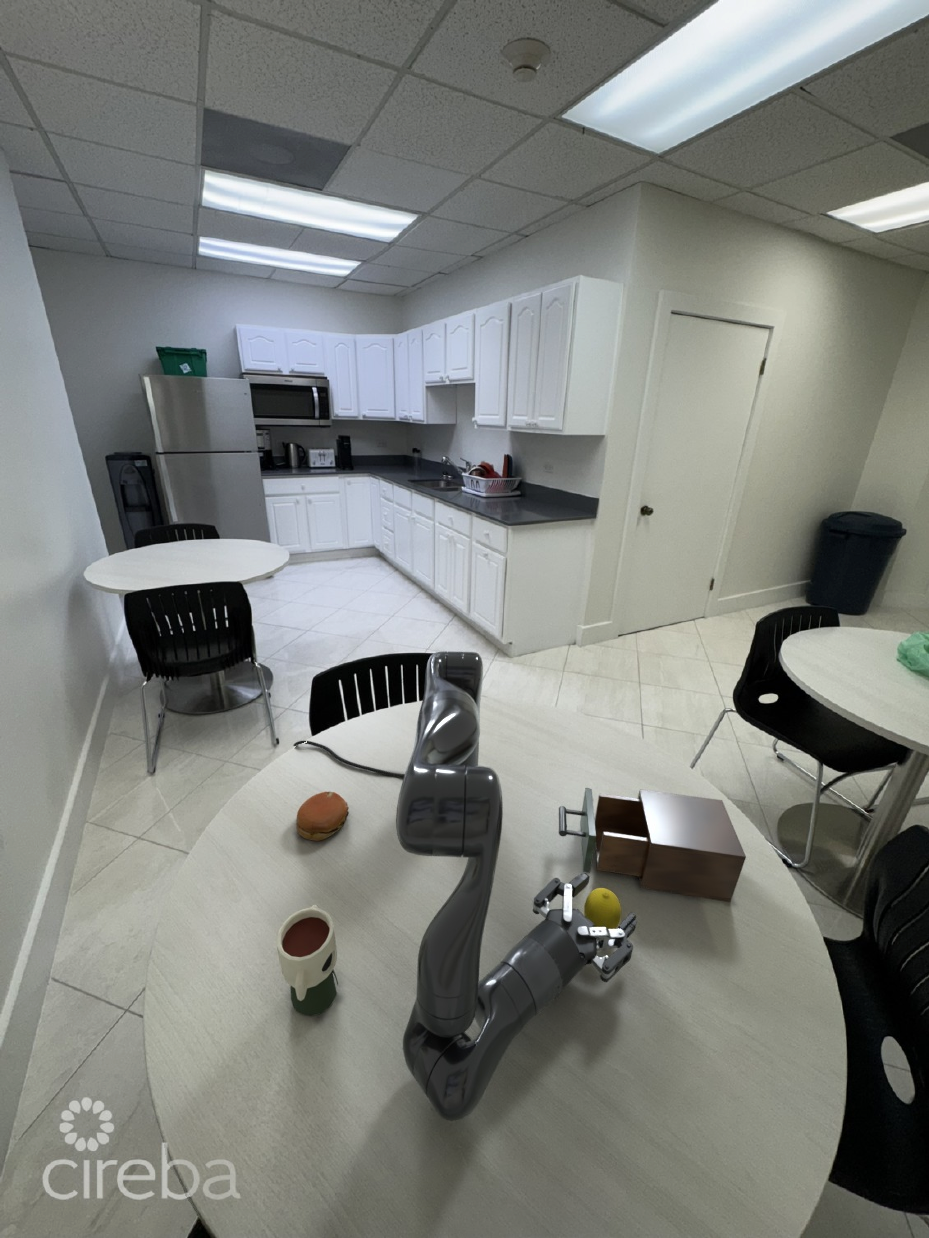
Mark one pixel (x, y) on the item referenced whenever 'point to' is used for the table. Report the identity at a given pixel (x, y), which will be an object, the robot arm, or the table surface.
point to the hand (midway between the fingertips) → (609, 896)
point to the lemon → (603, 908)
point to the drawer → (610, 833)
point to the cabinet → (690, 846)
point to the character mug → (309, 959)
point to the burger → (321, 816)
